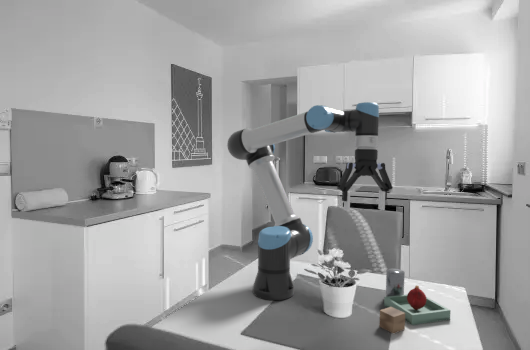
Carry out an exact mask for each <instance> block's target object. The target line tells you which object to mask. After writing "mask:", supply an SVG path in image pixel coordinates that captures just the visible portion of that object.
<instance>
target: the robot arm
mask: <svg viewBox="0 0 530 350" xmlns="http://www.w3.org/2000/svg"><path fill="white" fill-rule="evenodd" d="M379 112H380V107H379V104H378V103H377V102H372V101H371V102H370V101H365V102H358V103H357V104H356V107H355V109H349V110H347V109H346V110H340V109H337V108H332V107H329V106H326V105H319V104H318V105H313V106H311V108H309V109H308V110H307V111H305V112H301V113H299V114H298V113H297V114H296V115H293V116H290V117H287V118H283V119H281V120H276V121H274V122H271V123H267V124H264V125H261V126H259V127H255V128H250V127H249V128H248V127H246V128H244V129H240V130H237V131H235V132H233V133H232V134H230V136H229V138H228V139H227V145H226V147H227V150H228V153H229V154H230V156H232V157H233V158H235V159H237V160H239V161H241V160H242V161H246V163H247V166H248V167H249V169H251V170H252V171H254V173H255V176H256V179H257V181H258V184H259V186H260V189H261V191H262V193H263V196H264V199H265V201H266V203H267V207H268V208H269V212H270V213H271V216H272V219H273V221H274V225H273V226H268V227H265V228H262V229H261V230H260V231H259V233H258V240H257V245H258V246H257V247H258V249H257V255H258V256H257V273H256V276H255V279H254V281H253V285H252V293H253V295H254V296H256V297H257V298H259V299H263V300H267V301H268V300H269V301H280V300H287V299H290V298H292V297H293V296H294V295H295V284H294V282H293V279H292V275H291V272H290V271H291V260H292V259H294V258H297V257H298V256H301V255H303V254H305V253H307V252H308V251H309V250H310V249H311V247H312V245H313V242H314V235H313V232H312V230H311V228H309V226H308V225H306V224H304V223H303V222H302V219H301V217H299V216H298V215H295V212H294V210H293V207H292V205H291V202H290V200H289V198H288V195H287V193H286V191H285V189H284V185H283V183H282V181H281V179H280V176H279V173H278V171H277V168H276V166H275V164H274V160H275V157H276V156H275V149H276V146H275V144H279V143H283V142H285V141H290V140H292V139H296V138H297V139H298V138H299V137H304V136H307V135H311V134H314V133H318V132H322V131H324V132H326V133H346V132H354V133H355V136H354V137H355V140H354V147H355V148H356V149H355V150H354V161H355V162H354V163H353V162H346V164H345V169H344V172H343V174H342V175H341V178H340V179H339V182H338V184H337V185H336V189H337V190H338V191H341V201H342V202H343V211H345V212H350V211H351V208H350V207H351V191H349V190H350V189H351V188H352V186H353V185H354V184H355V182H356V181H357V180H358V179H359V178H360V177H366V176H368V177H372V179H373V180H374V183H376V185H377V186H378V188H379V189H380V190H378V204H377V205H378V207H377V209H378V210H381V211H385V210H386V209H385V208H386V201H387V199H388V192H389V191H390V190H392V189H393V185H392V182H391V180H390V177H389V175H388V172H387V170H386V164H385V162H377V160H378V156H379V155H378V154H379V150H378V149H377V148H378V147H379V126H380V125H379V121H380V113H379ZM353 169H354V171H353ZM377 170H378V172H377ZM352 171H353V172H352ZM351 173H352V175H351ZM350 175H351V176H350Z"/></svg>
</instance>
